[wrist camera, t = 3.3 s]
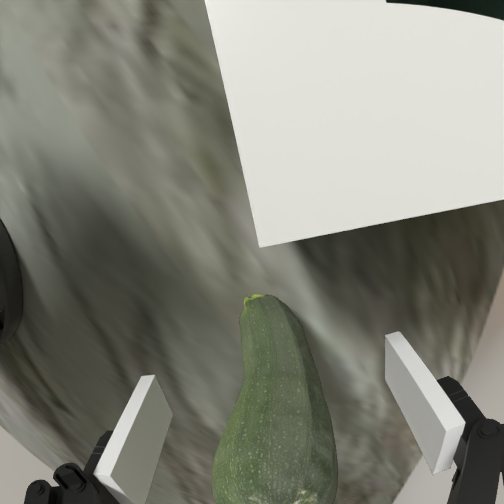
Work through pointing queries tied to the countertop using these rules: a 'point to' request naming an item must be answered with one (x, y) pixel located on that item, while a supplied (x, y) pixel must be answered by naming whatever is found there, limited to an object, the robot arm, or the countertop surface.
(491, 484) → the robot arm
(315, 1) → the box
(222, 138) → the countertop surface
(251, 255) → the countertop surface
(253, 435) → the vegetable
